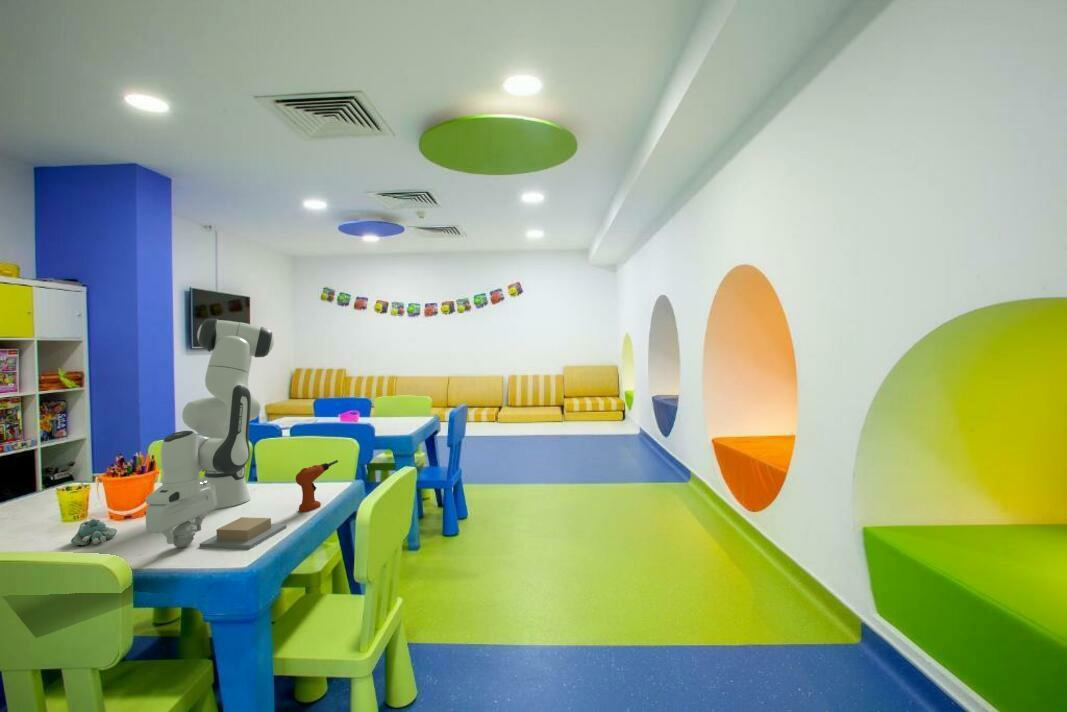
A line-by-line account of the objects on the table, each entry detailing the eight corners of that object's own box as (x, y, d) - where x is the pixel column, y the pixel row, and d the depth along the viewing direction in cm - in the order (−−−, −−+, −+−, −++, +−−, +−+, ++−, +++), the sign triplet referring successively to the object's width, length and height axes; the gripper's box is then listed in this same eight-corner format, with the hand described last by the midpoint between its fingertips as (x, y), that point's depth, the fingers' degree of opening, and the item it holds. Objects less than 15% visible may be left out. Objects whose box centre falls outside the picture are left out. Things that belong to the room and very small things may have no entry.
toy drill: (347, 492, 188) (341, 453, 186) (306, 515, 171) (299, 473, 169) (337, 491, 190) (331, 452, 188) (295, 513, 173) (289, 471, 171)
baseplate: (199, 547, 144) (198, 533, 144) (240, 526, 160) (239, 513, 160) (250, 548, 142) (249, 534, 142) (286, 527, 158) (285, 514, 157)
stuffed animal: (75, 534, 143) (65, 518, 150) (76, 557, 144) (65, 540, 151) (123, 522, 152) (111, 507, 159) (123, 544, 153) (111, 529, 160)
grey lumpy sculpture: (203, 542, 148) (202, 518, 147) (181, 552, 141) (179, 527, 141) (186, 540, 149) (185, 517, 149) (164, 550, 142) (162, 526, 142)
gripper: (201, 478, 155) (203, 523, 156) (139, 500, 135) (142, 551, 136) (219, 479, 154) (222, 523, 155) (160, 500, 134) (163, 552, 135)
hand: (184, 536), depth 145 cm, fingers open, 7 cm apart
